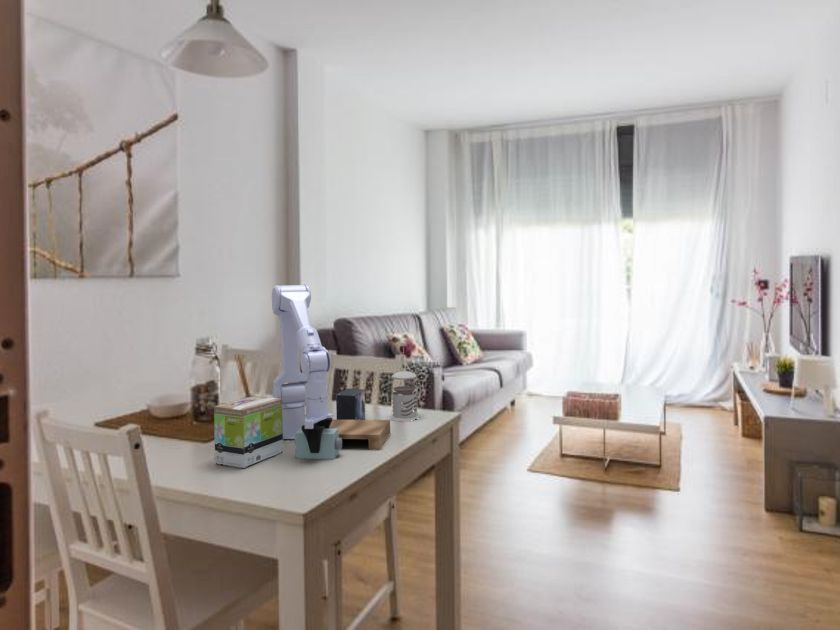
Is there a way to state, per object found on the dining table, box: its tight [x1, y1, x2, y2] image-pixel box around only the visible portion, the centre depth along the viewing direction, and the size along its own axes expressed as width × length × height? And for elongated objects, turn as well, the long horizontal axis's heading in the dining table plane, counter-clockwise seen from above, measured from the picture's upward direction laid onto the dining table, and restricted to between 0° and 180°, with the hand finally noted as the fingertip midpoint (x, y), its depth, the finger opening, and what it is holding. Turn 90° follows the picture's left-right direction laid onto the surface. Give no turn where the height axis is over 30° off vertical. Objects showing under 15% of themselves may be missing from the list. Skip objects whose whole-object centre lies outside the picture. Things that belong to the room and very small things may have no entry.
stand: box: [329, 419, 391, 450], centre depth 166 cm, size 18×16×4 cm
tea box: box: [213, 395, 284, 469], centre depth 152 cm, size 15×10×15 cm, turn 155°
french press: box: [390, 340, 422, 422], centre depth 192 cm, size 10×12×25 cm
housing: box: [294, 428, 343, 460], centre depth 153 cm, size 11×5×6 cm, turn 83°
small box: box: [335, 387, 366, 420], centre depth 184 cm, size 11×6×10 cm, turn 168°
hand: (318, 449), depth 153 cm, fingers closed on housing, 5 cm apart
